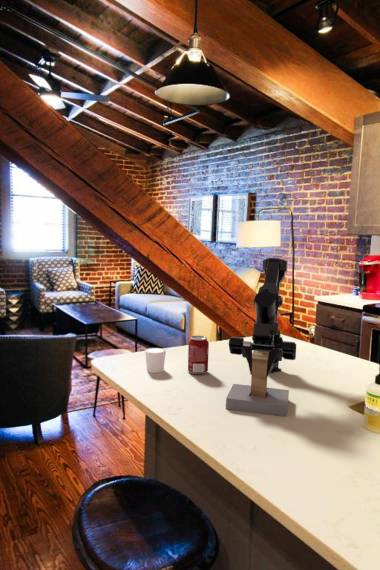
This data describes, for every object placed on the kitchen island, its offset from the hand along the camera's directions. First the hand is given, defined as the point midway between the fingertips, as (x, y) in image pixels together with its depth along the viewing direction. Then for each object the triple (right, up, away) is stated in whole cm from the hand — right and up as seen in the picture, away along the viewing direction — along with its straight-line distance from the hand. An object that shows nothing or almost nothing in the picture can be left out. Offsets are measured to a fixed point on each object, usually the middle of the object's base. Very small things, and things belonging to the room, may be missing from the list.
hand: (259, 374), depth 124 cm
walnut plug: (0, -6, +2) cm, 7 cm away
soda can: (-16, -5, +29) cm, 34 cm away
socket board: (0, -9, +2) cm, 9 cm away
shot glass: (-31, -5, +30) cm, 43 cm away
